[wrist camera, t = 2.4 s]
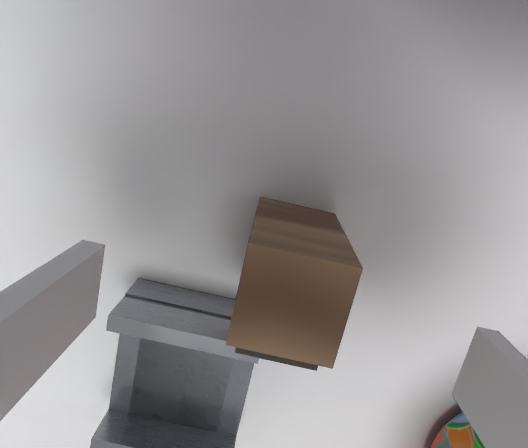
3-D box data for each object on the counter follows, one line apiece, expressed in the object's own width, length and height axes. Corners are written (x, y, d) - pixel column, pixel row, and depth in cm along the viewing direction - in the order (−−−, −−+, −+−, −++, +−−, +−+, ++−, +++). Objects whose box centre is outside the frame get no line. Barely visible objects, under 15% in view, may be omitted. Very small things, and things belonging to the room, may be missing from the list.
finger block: (260, 196, 22) (248, 242, 14) (334, 213, 22) (362, 268, 14) (242, 277, 23) (222, 359, 16) (313, 292, 23) (328, 382, 16)
